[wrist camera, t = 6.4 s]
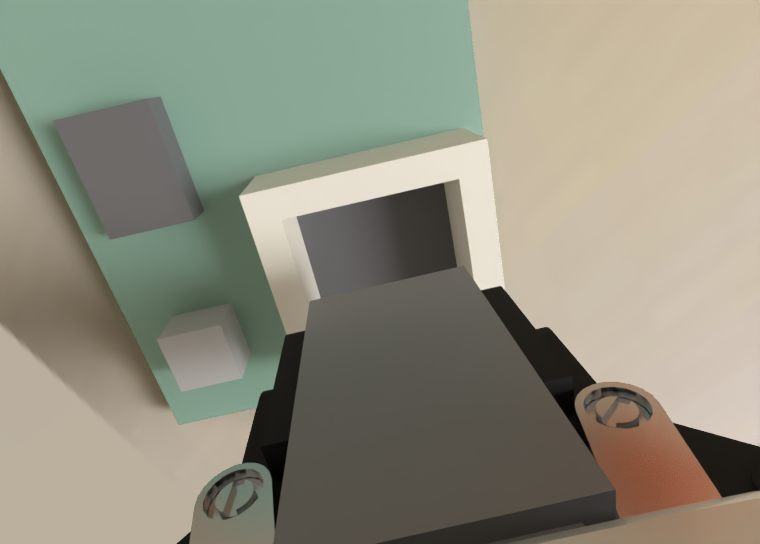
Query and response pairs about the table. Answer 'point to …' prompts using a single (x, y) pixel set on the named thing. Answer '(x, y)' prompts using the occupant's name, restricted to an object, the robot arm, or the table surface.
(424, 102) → the board
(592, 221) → the table surface
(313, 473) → the plug
